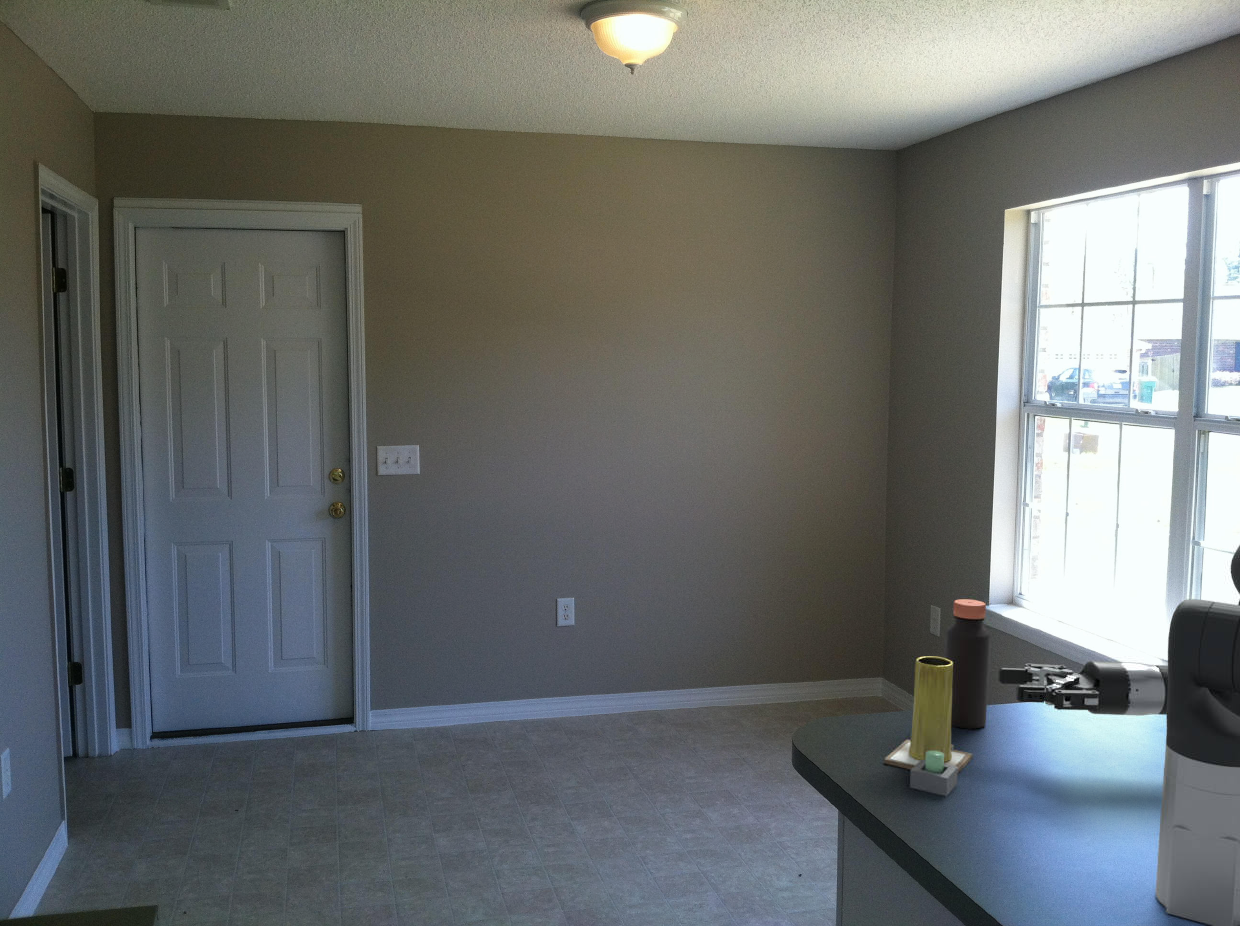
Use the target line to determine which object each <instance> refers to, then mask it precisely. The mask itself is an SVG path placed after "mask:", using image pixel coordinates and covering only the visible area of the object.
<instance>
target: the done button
mask: <svg viewBox="0 0 1240 926" xmlns="http://www.w3.org/2000/svg"><path fill="white" fill-rule="evenodd" d="M943 768H944V754H943V753H942V752H939V751H933V750H931V751H927V752H926V763H925V771H930V772H934V773H938V774H943Z"/></svg>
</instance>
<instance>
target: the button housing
mask: <svg viewBox="0 0 1240 926" xmlns="http://www.w3.org/2000/svg"><path fill="white" fill-rule="evenodd" d="M925 763H926V760H925V759H922V760H920V761H919V762H918V763H917V764H916V765H915V766H914V767H913V768H912V769H910V775H909V776H910V777H909V788H911V789H915V790H919V791H923V792H927V793H931V794H934V795H940V796H943V797H947V796H948V795H949V794H950V793H951V792H952V790H953V789H954V788H955V787H956V786H957V785H958V774H959V773H958V767H956V766H952V765H947V764H944V768H943V774H938V773H934V772H930V771H925Z"/></svg>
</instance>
